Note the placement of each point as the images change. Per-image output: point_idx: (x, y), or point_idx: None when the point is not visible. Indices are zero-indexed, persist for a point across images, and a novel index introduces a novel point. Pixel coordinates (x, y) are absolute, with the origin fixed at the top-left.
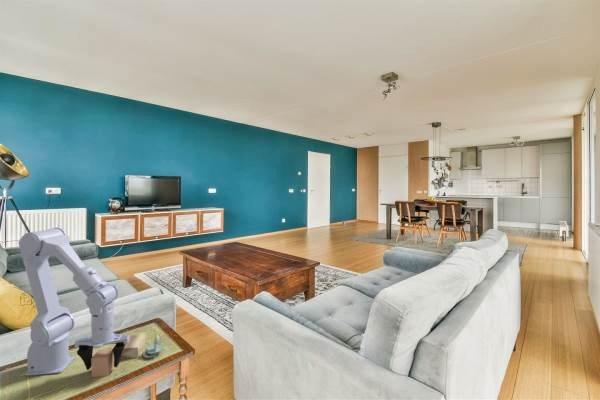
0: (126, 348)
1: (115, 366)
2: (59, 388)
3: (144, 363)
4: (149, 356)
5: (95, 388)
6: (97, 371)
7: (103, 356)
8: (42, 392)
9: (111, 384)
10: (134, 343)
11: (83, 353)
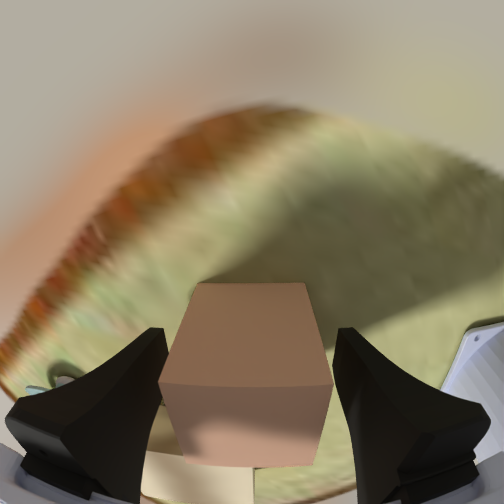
0: (163, 452)
1: (152, 330)
2: (447, 202)
3: (63, 346)
4: (63, 382)
5: (218, 154)
6: (266, 302)
7: (215, 401)
8: (499, 188)
9: (129, 186)
10: (148, 469)
11: (432, 422)
